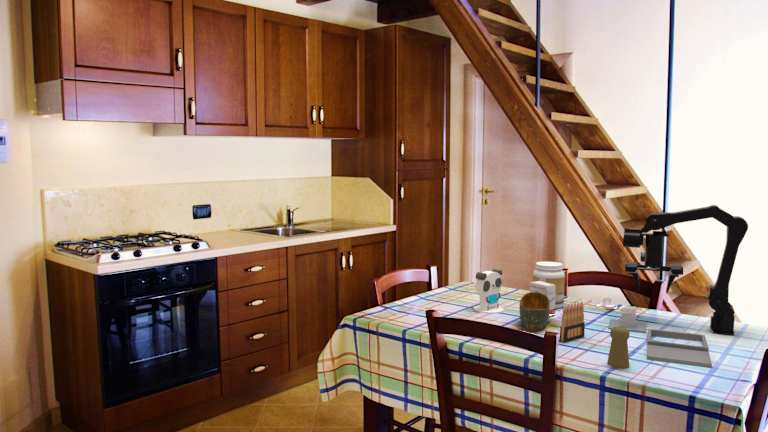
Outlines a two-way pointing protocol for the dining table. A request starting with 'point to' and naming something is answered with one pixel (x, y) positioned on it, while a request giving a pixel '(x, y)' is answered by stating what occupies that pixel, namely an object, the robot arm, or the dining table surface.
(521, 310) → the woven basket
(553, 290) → the ink box
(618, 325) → the slate mat
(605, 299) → the teacup and saucer
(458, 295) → the dining table surface
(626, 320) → the block
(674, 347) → the gray rectangular frame
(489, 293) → the panda figurine
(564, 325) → the ammunition clip
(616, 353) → the brown tapered mill
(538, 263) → the supplement tub
